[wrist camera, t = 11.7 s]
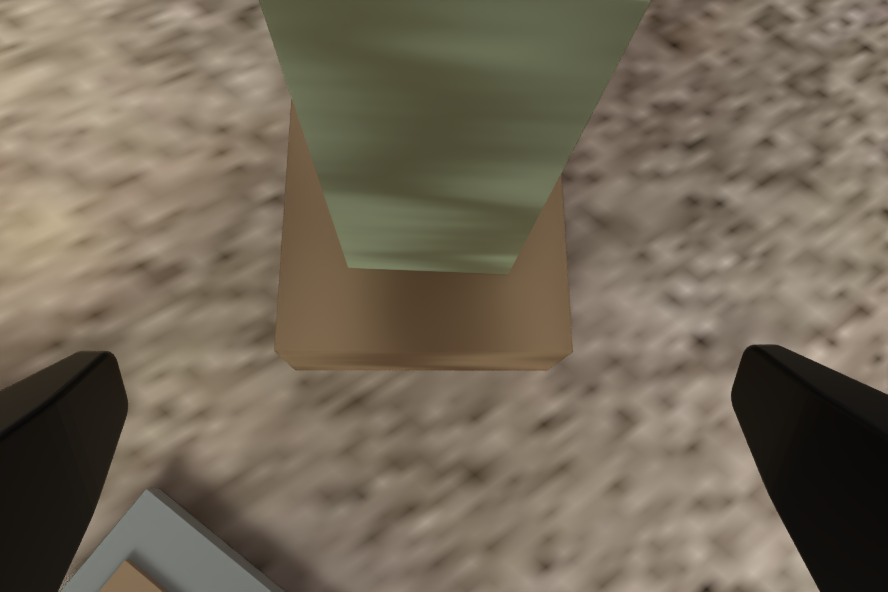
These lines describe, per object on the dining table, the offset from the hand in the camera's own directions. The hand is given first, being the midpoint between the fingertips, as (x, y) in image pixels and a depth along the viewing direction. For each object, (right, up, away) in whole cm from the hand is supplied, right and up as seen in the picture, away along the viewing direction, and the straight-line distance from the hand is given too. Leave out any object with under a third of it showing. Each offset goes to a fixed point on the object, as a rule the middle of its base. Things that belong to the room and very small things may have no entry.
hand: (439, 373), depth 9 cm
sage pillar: (0, +4, +11) cm, 12 cm away
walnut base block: (-1, +3, +15) cm, 15 cm away
